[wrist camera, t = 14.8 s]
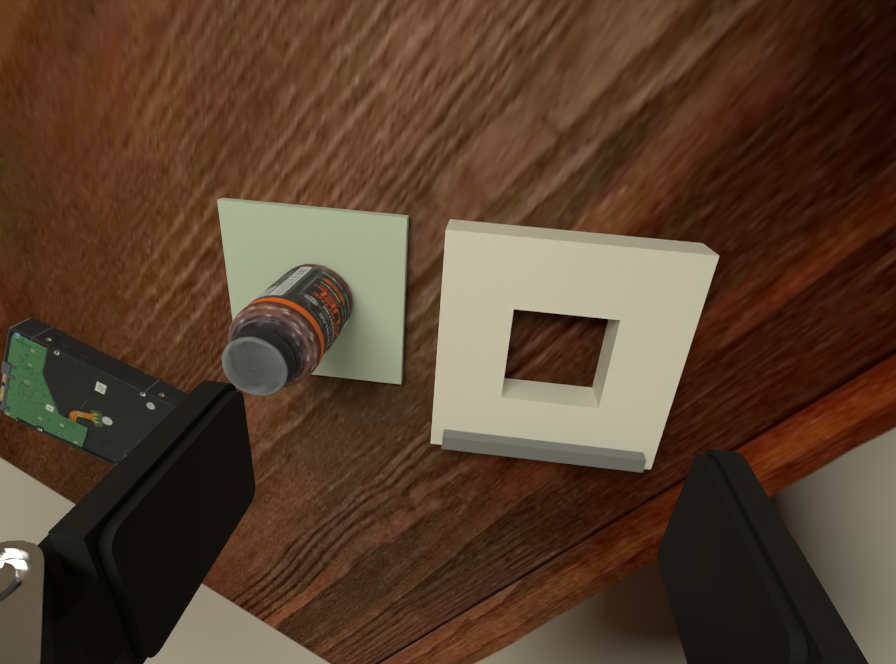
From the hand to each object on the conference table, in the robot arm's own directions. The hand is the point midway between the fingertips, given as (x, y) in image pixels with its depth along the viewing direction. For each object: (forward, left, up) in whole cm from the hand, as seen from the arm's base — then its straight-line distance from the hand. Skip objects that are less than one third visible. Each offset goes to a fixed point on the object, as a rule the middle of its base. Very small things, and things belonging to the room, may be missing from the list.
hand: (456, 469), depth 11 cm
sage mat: (+9, -13, -28) cm, 32 cm away
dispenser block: (+11, +6, -28) cm, 31 cm away
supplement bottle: (+8, -12, -28) cm, 31 cm away
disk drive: (+21, -34, -29) cm, 49 cm away
